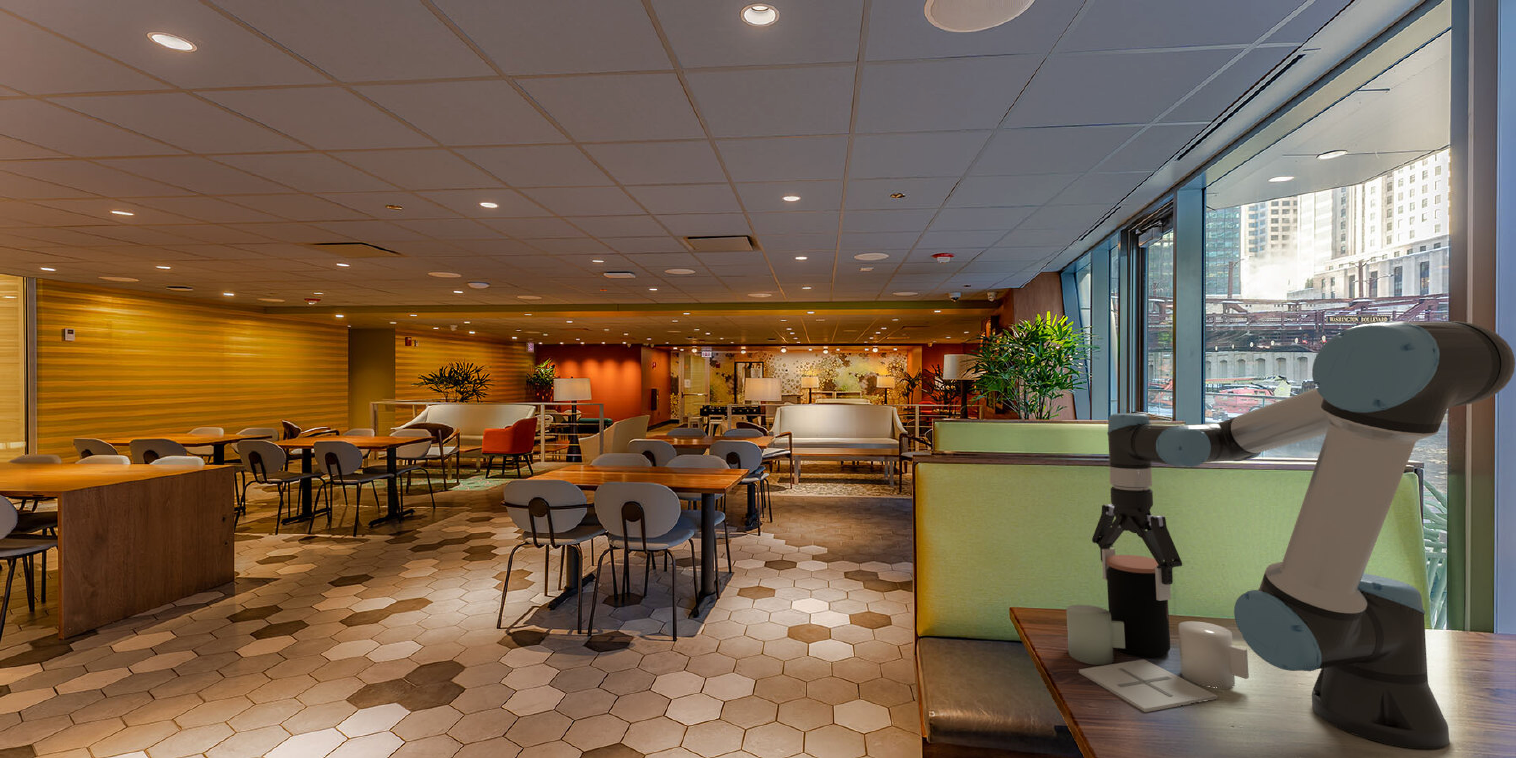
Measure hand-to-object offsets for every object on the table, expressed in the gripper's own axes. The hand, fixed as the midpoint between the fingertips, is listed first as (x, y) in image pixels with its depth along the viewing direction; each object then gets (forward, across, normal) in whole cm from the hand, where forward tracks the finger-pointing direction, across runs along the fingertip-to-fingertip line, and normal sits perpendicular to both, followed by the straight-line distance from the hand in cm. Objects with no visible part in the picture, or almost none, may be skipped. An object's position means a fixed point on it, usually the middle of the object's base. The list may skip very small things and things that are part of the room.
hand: (1135, 588), depth 126 cm
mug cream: (+12, -16, -1) cm, 20 cm away
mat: (+12, -14, +12) cm, 22 cm away
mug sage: (+12, -1, +11) cm, 17 cm away
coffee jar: (+12, -1, 0) cm, 12 cm away
